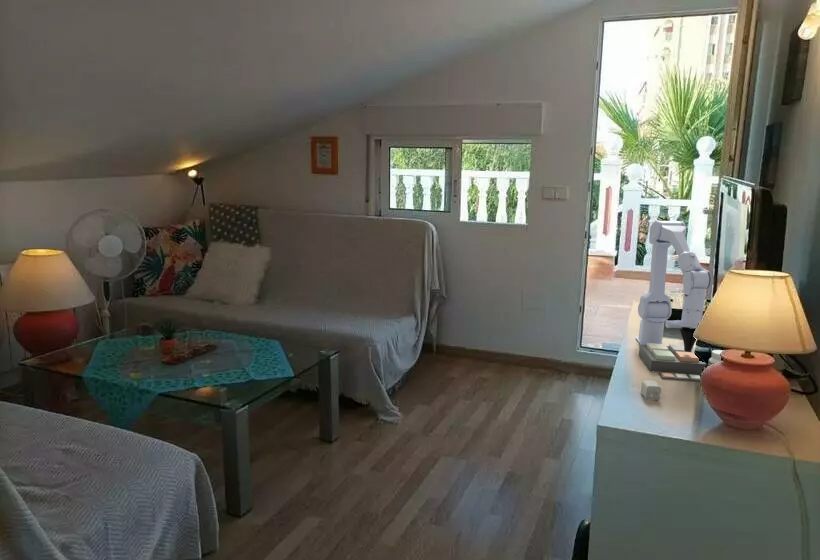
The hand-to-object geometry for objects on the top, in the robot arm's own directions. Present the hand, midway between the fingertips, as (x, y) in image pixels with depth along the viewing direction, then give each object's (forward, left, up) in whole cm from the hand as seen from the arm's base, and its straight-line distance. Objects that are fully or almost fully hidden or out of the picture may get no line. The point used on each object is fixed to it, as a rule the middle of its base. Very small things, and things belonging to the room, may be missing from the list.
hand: (687, 351), depth 191 cm
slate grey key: (-7, 0, -4) cm, 8 cm away
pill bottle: (+11, +5, -6) cm, 14 cm away
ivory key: (-7, -7, -4) cm, 11 cm away
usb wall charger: (+26, -17, -6) cm, 32 cm away
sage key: (0, -7, -4) cm, 8 cm away
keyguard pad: (-4, -4, -6) cm, 8 cm away
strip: (+8, -4, -6) cm, 11 cm away
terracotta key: (0, 0, -4) cm, 4 cm away
